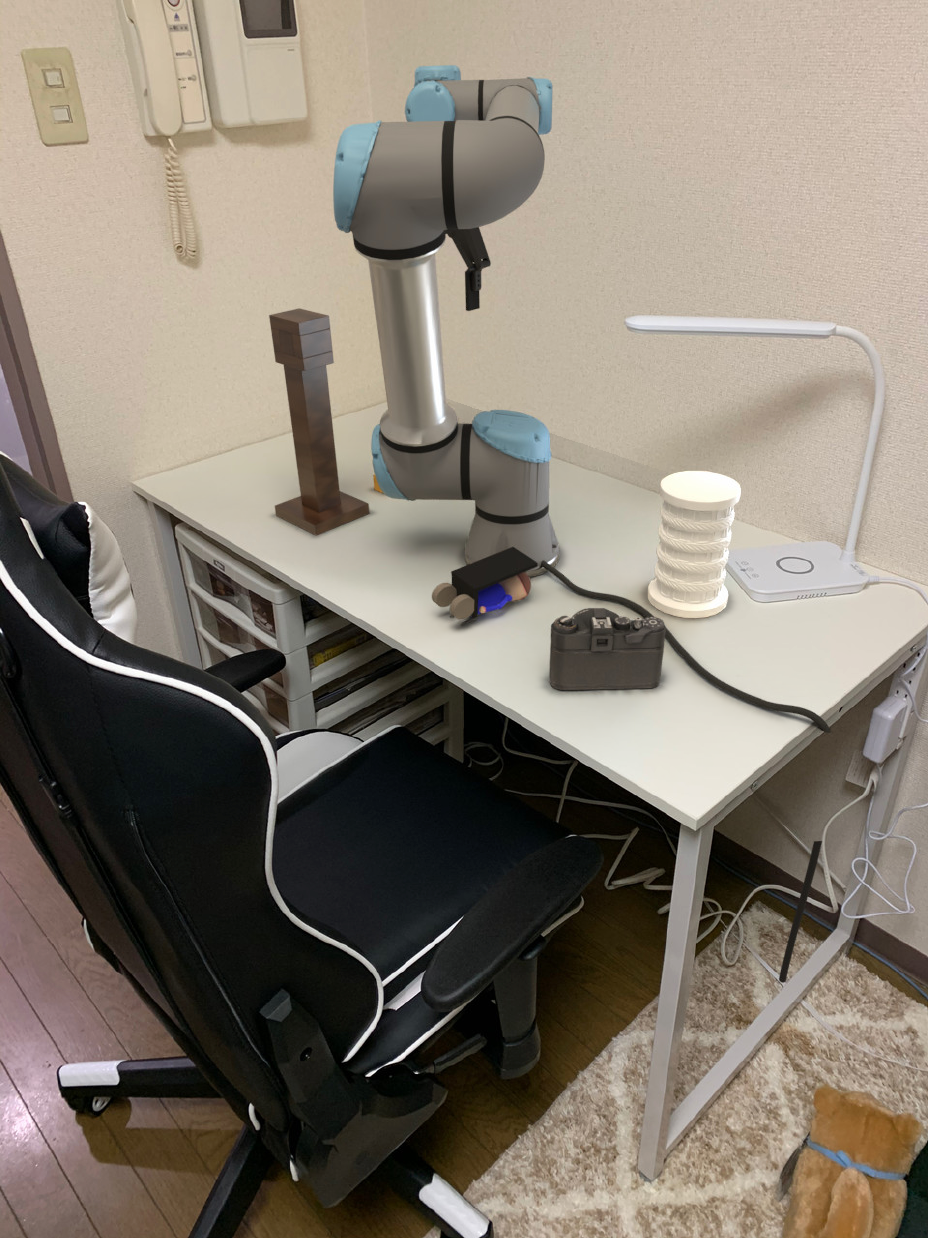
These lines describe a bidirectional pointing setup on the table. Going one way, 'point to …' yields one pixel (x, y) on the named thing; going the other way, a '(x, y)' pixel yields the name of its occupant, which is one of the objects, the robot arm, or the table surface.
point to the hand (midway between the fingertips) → (445, 304)
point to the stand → (311, 422)
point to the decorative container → (693, 543)
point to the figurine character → (486, 584)
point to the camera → (605, 651)
